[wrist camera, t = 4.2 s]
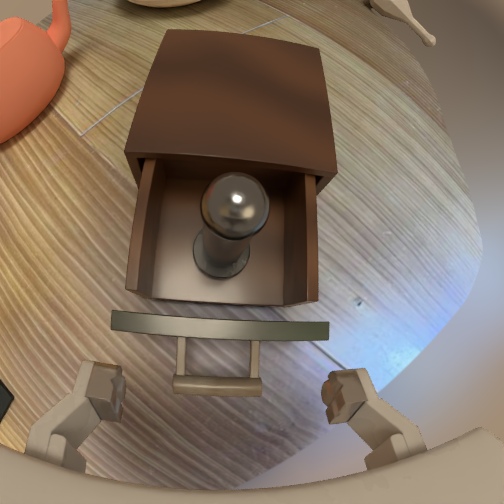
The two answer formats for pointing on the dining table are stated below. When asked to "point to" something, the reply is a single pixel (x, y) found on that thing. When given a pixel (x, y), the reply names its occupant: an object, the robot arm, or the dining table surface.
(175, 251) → the drawer
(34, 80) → the teapot
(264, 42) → the cabinet
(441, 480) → the robot arm
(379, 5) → the chicken leg
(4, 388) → the mat
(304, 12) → the dining table surface
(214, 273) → the domed metal post
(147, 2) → the bowl
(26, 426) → the dining table surface
